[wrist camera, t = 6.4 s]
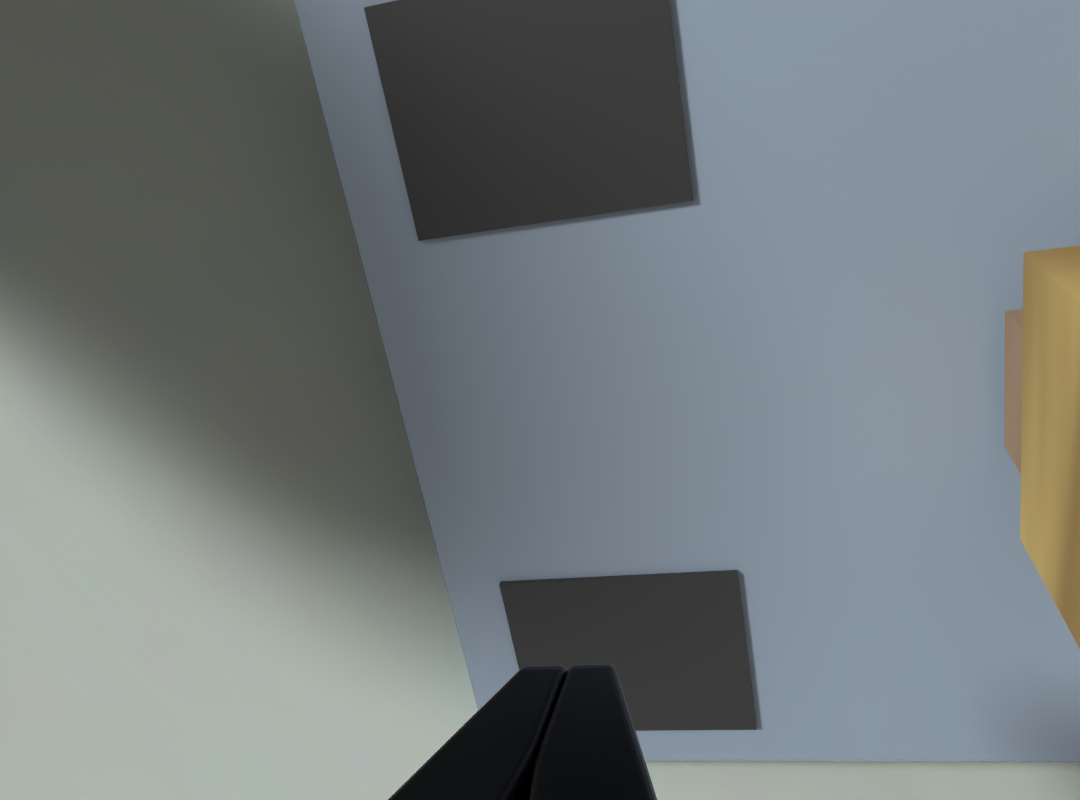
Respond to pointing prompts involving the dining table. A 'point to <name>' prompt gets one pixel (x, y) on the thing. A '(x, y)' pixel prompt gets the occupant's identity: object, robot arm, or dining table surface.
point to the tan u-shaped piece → (1048, 420)
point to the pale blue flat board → (723, 349)
